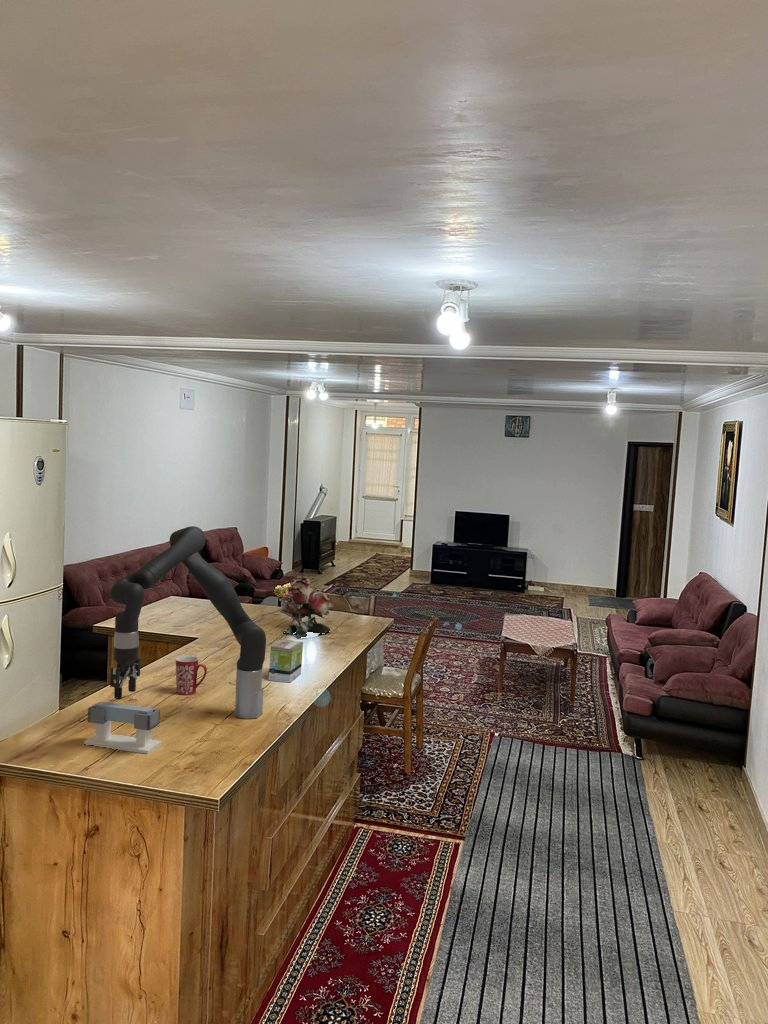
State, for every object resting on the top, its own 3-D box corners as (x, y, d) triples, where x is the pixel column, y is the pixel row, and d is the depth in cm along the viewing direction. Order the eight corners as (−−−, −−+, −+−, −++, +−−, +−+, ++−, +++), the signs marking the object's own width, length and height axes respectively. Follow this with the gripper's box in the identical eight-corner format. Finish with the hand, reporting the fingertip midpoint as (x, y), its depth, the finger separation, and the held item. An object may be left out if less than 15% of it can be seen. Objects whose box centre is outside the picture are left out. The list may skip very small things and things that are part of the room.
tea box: (290, 683, 332) (292, 648, 331) (267, 680, 334) (269, 646, 333) (301, 674, 346) (303, 640, 345) (279, 671, 348) (281, 638, 347)
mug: (169, 694, 308) (171, 660, 307) (180, 688, 317) (181, 654, 316) (200, 698, 305) (201, 663, 304) (210, 691, 314) (211, 658, 313)
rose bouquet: (337, 631, 432) (340, 576, 430) (304, 640, 408) (307, 582, 406) (299, 624, 446) (302, 570, 444) (265, 632, 421) (268, 576, 419)
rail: (152, 722, 254) (153, 708, 254) (147, 725, 251) (147, 711, 250) (101, 715, 258) (101, 701, 257) (95, 718, 254) (95, 704, 254)
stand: (161, 744, 257) (162, 708, 256) (147, 753, 248) (149, 717, 247) (99, 735, 261) (100, 700, 260) (83, 744, 252) (84, 709, 252)
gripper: (125, 651, 244) (124, 703, 246) (148, 640, 258) (147, 690, 260) (103, 649, 246) (102, 700, 247) (126, 638, 260) (125, 687, 261)
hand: (125, 695), depth 253 cm, fingers open, 8 cm apart
